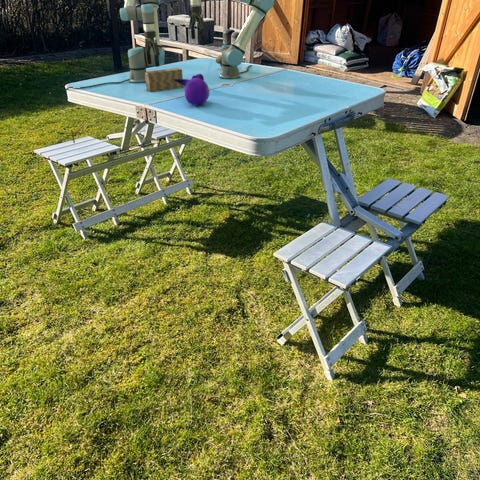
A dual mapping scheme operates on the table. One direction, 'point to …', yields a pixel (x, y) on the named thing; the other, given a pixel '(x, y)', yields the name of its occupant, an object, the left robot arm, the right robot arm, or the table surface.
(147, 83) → the box
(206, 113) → the table surface
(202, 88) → the toy
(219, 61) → the teapot
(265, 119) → the table surface
